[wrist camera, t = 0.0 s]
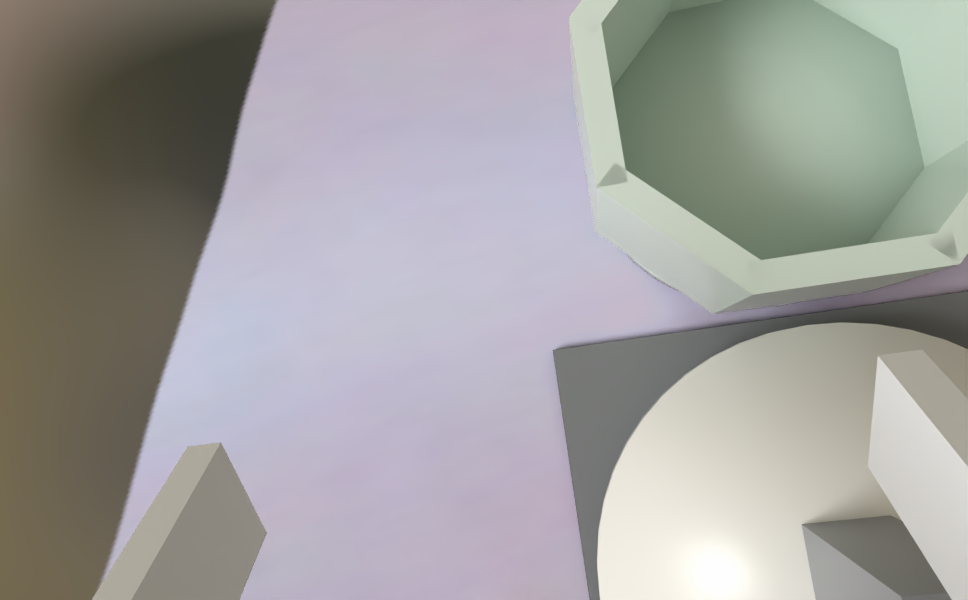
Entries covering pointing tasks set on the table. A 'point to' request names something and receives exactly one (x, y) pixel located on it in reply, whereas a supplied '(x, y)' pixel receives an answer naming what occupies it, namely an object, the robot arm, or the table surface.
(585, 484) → the mat
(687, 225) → the bowl
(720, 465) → the lid
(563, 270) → the table surface
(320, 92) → the table surface
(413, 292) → the table surface
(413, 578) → the table surface
